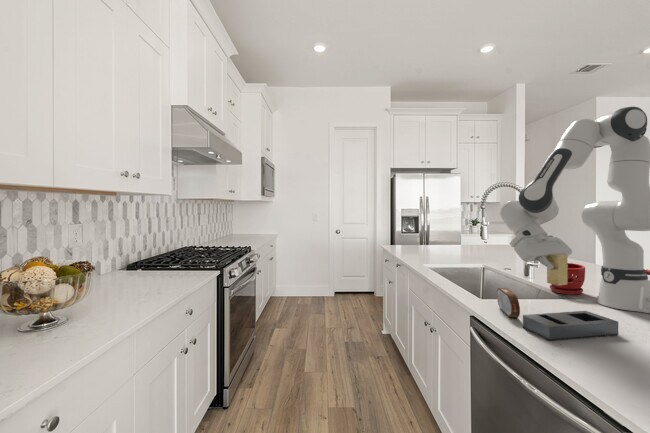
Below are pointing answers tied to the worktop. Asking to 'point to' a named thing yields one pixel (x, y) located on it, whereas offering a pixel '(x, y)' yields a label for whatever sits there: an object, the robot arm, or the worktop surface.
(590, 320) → the block
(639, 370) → the worktop surface
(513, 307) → the tin
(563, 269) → the tan rectangular block
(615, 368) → the worktop surface
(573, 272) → the plant pot
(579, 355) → the worktop surface
